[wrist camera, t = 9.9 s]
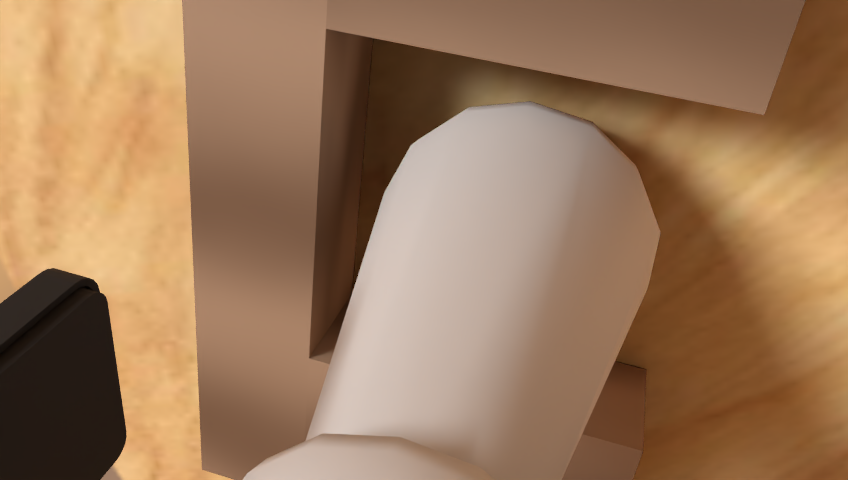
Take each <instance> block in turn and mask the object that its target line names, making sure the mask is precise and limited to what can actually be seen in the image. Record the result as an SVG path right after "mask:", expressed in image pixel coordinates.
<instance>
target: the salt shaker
mask: <svg viewBox="0 0 848 480" xmlns="http://www.w3.org/2000/svg"><path fill="white" fill-rule="evenodd" d="M660 234H661V232H660V229H659V227H658V224H657V221H656V218H655V215H654V213H653V210H652V207H651V204H650V202H649V199H648V196H647V193H646V190H645V188H644V185H643V182H642V179H641V177H640V174H639V172H638V169H637V167H636V165H635V164H634V163H633V162H632V161H631V160H630V159H629V158H628V157H627V156H626V155H625V154H624V153H623V152H622V151H621V150H620V149H619V148H618V147H617V146H616V145H615V144H614V143H613V142H612V141H611V140H610V139H609V138H608V137H607V136H606V135H605V134H604V133H603V132H602V131H601V130H600V129H599V128H598V127H597V126H596V125H595V124H594V123H593V122H591V121H588V120H585V119H582V118H579V117H576V116H573V115H570V114H567V113H564V112H561V111H558V110H555V109H552V108H549V107H546V106H543V105H540V104H537V103H534V102H531V101H528V102H518V103H507V104H497V105H487V106H476V107H468V108H467V109H465V110H464V111H462V112H460V113H459V114H457V115H456V116H454V117H453V118H451V119H449V120H448V121H446V122H445V123H443V124H442V125H440V126H438V127H437V128H435V129H434V130H432V131H431V132H429V133H427V134H426V135H424V136H423V137H421V138H420V139H418V140H417V141H416V142H414V143H413V144H412V145H411V146H410V148H409V149H408V151H407V153H406V155H405V157H404V158H403V160H402V162H401V164H400V165H399V167H398V169H397V171H396V173H395V174H394V176H393V178H392V180H391V181H390V183H389V185H388V187H387V189H386V190H385V192H384V195H383V198H382V201H381V204H380V207H379V211H378V214H377V217H376V220H375V223H374V226H373V230H372V233H371V236H370V239H369V242H368V245H367V248H366V252H365V255H364V258H363V261H362V264H361V267H360V271H359V274H358V277H357V280H356V283H355V286H354V289H353V293H352V296H351V299H350V302H349V305H348V308H347V311H346V315H345V318H344V321H343V324H342V327H341V330H340V334H339V337H338V340H337V343H336V346H335V349H334V352H333V356H332V359H331V362H330V365H329V368H328V371H327V375H326V378H325V381H324V384H323V387H322V390H321V393H320V397H319V400H318V403H317V406H316V409H315V412H314V416H313V419H312V422H311V425H310V428H309V431H308V434H307V438H306V441H304V442H302V443H300V444H298V445H296V446H293V447H291V448H289V449H287V450H284V451H282V452H280V453H278V454H276V455H273V456H271V457H269V458H267V459H266V460H264V461H263V462H262V463H260V464H259V465H258V466H256V467H255V468H254V469H252V470H251V471H250V472H248V473H247V474H246V476H245V477H244V479H243V480H562V478H563V475H564V473H565V471H566V469H567V467H568V464H569V462H570V460H571V458H572V455H573V453H574V451H575V449H576V447H577V444H578V442H579V440H580V438H581V435H582V433H583V431H584V429H585V427H586V424H587V422H588V420H589V418H590V415H591V413H592V411H593V409H594V407H595V404H596V402H597V400H598V398H599V395H600V393H601V391H602V389H603V387H604V384H605V382H606V380H607V378H608V375H609V373H610V371H611V369H612V367H613V364H614V362H615V360H616V358H617V355H618V353H619V351H620V349H621V347H622V344H623V342H624V340H625V338H626V336H627V333H628V331H629V329H630V327H631V324H632V322H633V320H634V318H635V316H636V313H637V311H638V309H639V307H640V304H641V302H642V300H643V298H644V296H645V293H646V291H647V289H648V285H649V281H650V277H651V273H652V268H653V264H654V260H655V255H656V251H657V247H658V243H659V238H660Z"/></svg>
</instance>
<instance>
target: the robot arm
mask: <svg viewBox="0 0 848 480" xmlns="http://www.w3.org/2000/svg"><path fill="white" fill-rule="evenodd" d="M125 441H126V426H125V419H124V413H123V406H122V399H121V392H120V385H119V378H118V371H117V364H116V358H115V351H114V344H113V337H112V330H111V323H110V316H109V309H108V302H107V299H106V297H105V295H104V294H102V293H100V291H99V288H98V285H97V283H96V282H95V281H94V280H92V279H90V278H87V277H83V276H79V275H76V274H72V273H69V272H65V271H62V270H58V269H55V268H52V269H47V270H45V271H43V272H41V273H40V274H38V275H37V276H36V277H34V278H33V279H32V280H30V281H29V282H28V283H27V284H25V285H24V286H23V287H21V288H20V289H19V290H17V291H16V292H15V293H14V294H12V295H11V296H10V297H8V298H7V299H6V300H4V301H3V302H2V303H1V304H0V480H100V479H101V478H102V477H103V475H104V474H105V473H106V472H107V471H108V470H109V469H110V467H111V466H112V465H113V464H114V463H115V461H116V460H117V459H118V457H119V456H120V454H121V452H122V450H123V448H124V445H125Z"/></svg>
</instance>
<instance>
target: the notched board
mask: <svg viewBox="0 0 848 480" xmlns="http://www.w3.org/2000/svg"><path fill="white" fill-rule="evenodd" d="M805 1H806V0H182V6H183V29H184V53H185V77H186V100H187V124H188V148H189V171H190V195H191V218H192V242H193V266H194V289H195V313H196V337H197V360H198V384H199V408H200V431H201V455H202V470H205V471H209V472H212V473H215V474H218V475H221V476H225V477H228V478H231V479H234V480H243V479H244V477H245V476H246V474H247V473H248V472H250V471H251V470H252V469H254V468H255V467H256V466H258V465H259V464H260V463H262V462H263V461H264V460H266V459H267V458H269V457H271V456H273V455H276V454H278V453H280V452H282V451H284V450H287V449H289V448H291V447H293V446H296V445H298V444H300V443H302V442H304V441H306V438H307V434H308V431H309V428H310V425H311V422H312V419H313V416H314V412H315V409H316V406H317V403H318V400H319V397H320V393H321V390H322V387H323V384H324V381H325V378H326V375H327V371H328V368H329V365H330V362H331V359H332V356H333V352H334V349H335V346H336V343H337V340H338V337H339V334H340V330H341V327H342V324H343V321H344V318H345V315H346V311H347V308H348V305H349V302H350V299H351V296H352V285H353V273H354V261H355V249H356V237H357V225H358V213H359V201H360V189H361V177H362V165H363V153H364V141H365V129H366V117H367V105H368V93H369V80H370V68H371V56H372V44H373V38H375V39H380V40H386V41H391V42H396V43H401V44H406V45H411V46H416V47H421V48H426V49H431V50H436V51H441V52H446V53H451V54H457V55H462V56H467V57H472V58H477V59H482V60H487V61H492V62H497V63H502V64H507V65H512V66H517V67H522V68H528V69H533V70H538V71H543V72H548V73H553V74H558V75H563V76H568V77H573V78H578V79H583V80H588V81H593V82H599V83H604V84H609V85H614V86H619V87H624V88H629V89H634V90H639V91H644V92H649V93H654V94H659V95H664V96H670V97H675V98H680V99H685V100H690V101H695V102H700V103H705V104H710V105H715V106H720V107H725V108H730V109H735V110H741V111H746V112H751V113H756V114H761V115H764V114H765V112H766V109H767V106H768V103H769V101H770V98H771V95H772V92H773V89H774V87H775V84H776V81H777V78H778V76H779V73H780V70H781V67H782V65H783V62H784V59H785V56H786V53H787V51H788V48H789V45H790V42H791V40H792V37H793V34H794V31H795V28H796V26H797V23H798V20H799V17H800V15H801V12H802V9H803V6H804V3H805ZM645 390H646V369H642V368H638V367H634V366H630V365H626V364H623V363H619V362H614V364H613V367H612V369H611V371H610V373H609V375H608V378H607V380H606V382H605V384H604V387H603V389H602V391H601V393H600V395H599V398H598V400H597V402H596V404H595V407H594V409H593V411H592V413H591V415H590V418H589V420H588V422H587V424H586V427H585V429H584V431H583V433H582V435H581V438H580V440H579V442H578V444H577V447H576V449H575V451H574V453H573V455H572V458H571V460H570V462H569V464H568V467H567V469H566V471H565V473H564V475H563V478H562V480H633V478H634V475H635V472H636V470H637V467H638V464H639V461H640V459H641V456H642V453H643V442H644V416H645Z"/></svg>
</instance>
